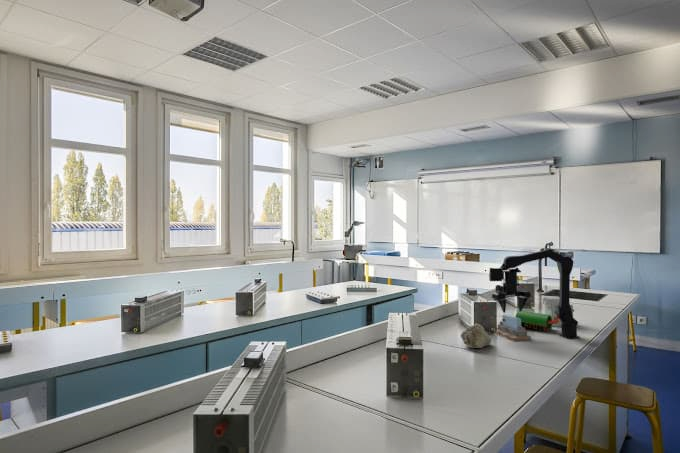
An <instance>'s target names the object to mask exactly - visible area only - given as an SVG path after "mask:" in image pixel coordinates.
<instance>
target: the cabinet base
mask: <svg viewBox="0 0 680 453" xmlns="http://www.w3.org/2000/svg"><path fill="white" fill-rule="evenodd" d="M496 328H497V331H496V333H497V334H499V335H501V336H500V337H502V336H503V337H502V338H504V337H506V338H505V339H507V338H508V339H507V340H509V339H510V341H511V340H518V341H525V340H528V339H529V340H532V336H531V335H529V334H528V330H526V327H525V326H524V327H521V328H517V331H516V330H513V329H511V328H508V327H505V326H503V322H502V320H501V321H499V324H497V327H496ZM497 334H496V335H497ZM499 335H498V336H499Z"/></svg>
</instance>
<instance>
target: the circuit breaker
mask: <svg viewBox="0 0 680 453" xmlns="http://www.w3.org/2000/svg"><path fill="white" fill-rule="evenodd" d="M558 304H559V296H558V295H556V296H555V295H554V296H553V295H552V296H551V295H550V296H542V305H543V306H544V314H547V315H551V317H552V321H554V317H557V316H556V314H555V305H557V306H558ZM573 305H574V304H570V307H571V310H572V315H573V316H574V312H575V309H574V306H573ZM561 326H562V322H561V320H560V319H559V323H557V324H552V327H561Z"/></svg>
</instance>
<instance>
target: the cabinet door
mask: <svg viewBox="0 0 680 453" xmlns="http://www.w3.org/2000/svg"><path fill="white" fill-rule="evenodd" d="M501 316H502V319H501V321H502V322H503V326H505V327H508V328H511V329H513V330H516V331H517V328H521V319H520V318H517V317H516V316H513V315H510V314H507V313H506V314H505V313H503V314H501Z"/></svg>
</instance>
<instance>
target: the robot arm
mask: <svg viewBox="0 0 680 453" xmlns="http://www.w3.org/2000/svg"><path fill="white" fill-rule="evenodd" d="M547 258H548V259H550V260H552V261H554V262H555V263H556V265H557V270H558V273H559V296H558V297H559V304H558V306H557V305H555V314H556V316H557V317H558V318H559V319H560V320H561V322H562V326H560V327H561V333H560V334H559V336H560V337H563V338H565V339H578V338H581V336H579V335H578V331H577V326H578V325H579V322H578V321H577V319H575V317H574V314H573V315H572V310H571V307H570V293H571V291H570V289H571V288H570V287H571V286H570V283H571V282H570V281H571V276H570V275H571V273H572V270H573V269H574V268H573V266H574V259H573V258H572V257H570V256H568V255H567V256H566V255H563V254H560V253H558V252H556V251H554V250H553V249H549V248H546V249H544V250H540V251H536V252H531V253H526V254H523V255H511V256H510V255H508V256H505V257H504V259H503V263H502V264H501V265H500V267H496V268H494V267H490V268H489V274H488V279H489V282H502V281H503V280H504V282H503V285H501V284H497V285H495V292H493V293H492V295H491V297H492V299H494V300H495V301H497V302H498V303H499V305H500V307H501V310H502V312H503V314H505V313H506V312H507V311H506V310H507V298H514V297H515V298H517V300H518V311H523V309H524V307H525V305H526V303H527V301H528V300H529V299H530V298H532V293H531V292H530V291H529V290H524V289H523V290H518V286H520V284H519V283H518V273H522V271H521V270H520V269H519V268H518V267H519V266H521V265H523V264H527V263H530V262H534V261H539V260H543V259H547Z"/></svg>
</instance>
